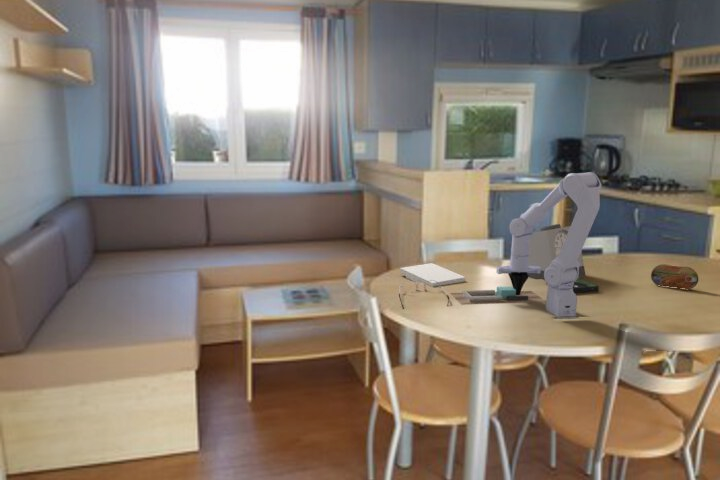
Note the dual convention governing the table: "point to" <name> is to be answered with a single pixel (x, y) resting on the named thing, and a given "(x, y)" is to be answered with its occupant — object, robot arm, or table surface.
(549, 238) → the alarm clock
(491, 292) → the grey slab
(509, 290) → the plug
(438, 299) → the table surface
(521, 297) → the grey blocks
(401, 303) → the eyeglasses
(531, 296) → the base board
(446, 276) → the white flat block
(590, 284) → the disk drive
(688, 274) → the tin
